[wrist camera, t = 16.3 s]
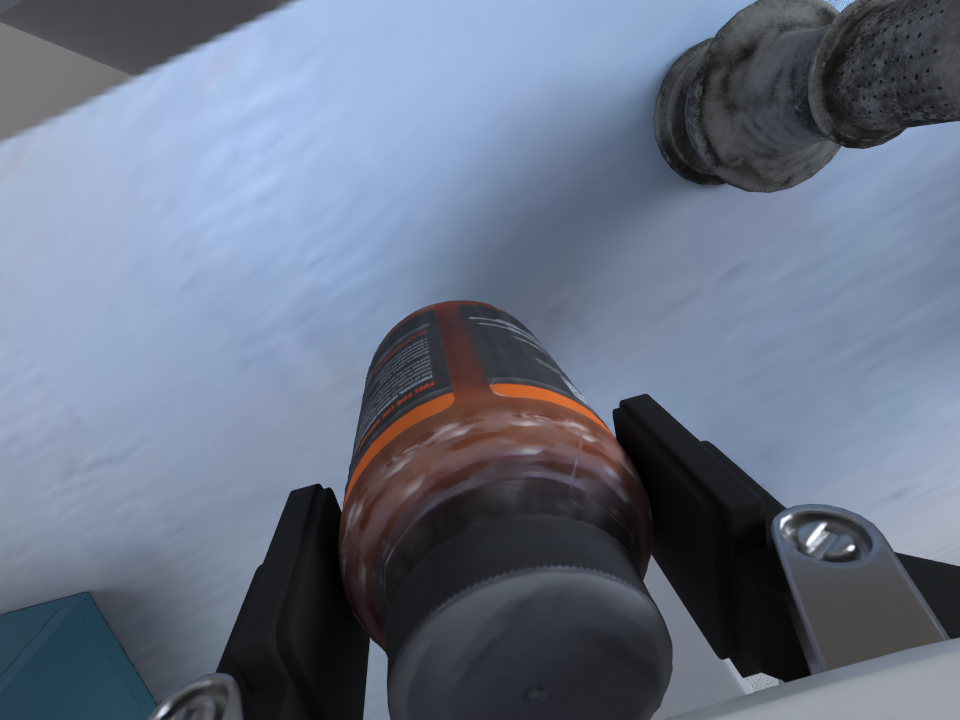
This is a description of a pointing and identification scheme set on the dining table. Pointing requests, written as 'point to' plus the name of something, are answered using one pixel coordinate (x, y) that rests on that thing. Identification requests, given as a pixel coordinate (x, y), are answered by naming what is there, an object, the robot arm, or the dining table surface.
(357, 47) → the dining table surface
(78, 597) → the case
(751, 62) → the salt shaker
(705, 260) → the dining table surface
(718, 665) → the milk carton
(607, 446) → the supplement bottle
